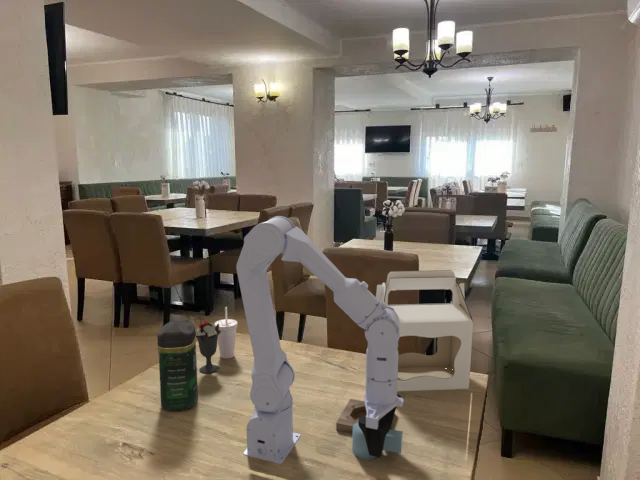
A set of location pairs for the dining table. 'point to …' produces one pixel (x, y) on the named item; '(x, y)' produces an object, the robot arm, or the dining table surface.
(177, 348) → the coffee jar
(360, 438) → the light blue piece
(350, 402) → the holder
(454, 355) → the gable box
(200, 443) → the dining table surface
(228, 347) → the smoothie
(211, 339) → the sundae
